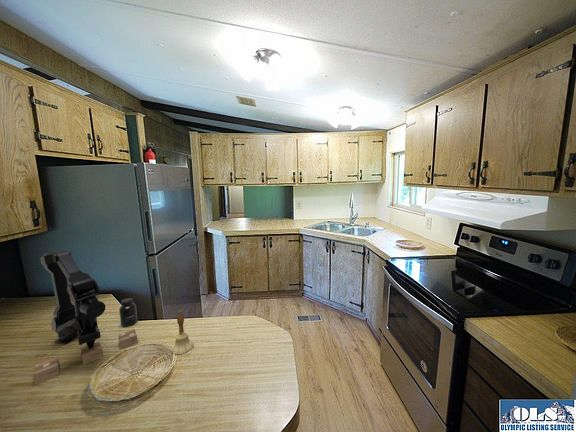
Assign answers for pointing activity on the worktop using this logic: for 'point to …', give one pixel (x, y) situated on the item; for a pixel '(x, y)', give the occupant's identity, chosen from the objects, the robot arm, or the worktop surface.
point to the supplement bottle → (128, 312)
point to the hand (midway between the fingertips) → (90, 347)
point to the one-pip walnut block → (46, 370)
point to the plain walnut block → (91, 353)
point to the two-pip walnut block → (127, 339)
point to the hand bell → (182, 337)
